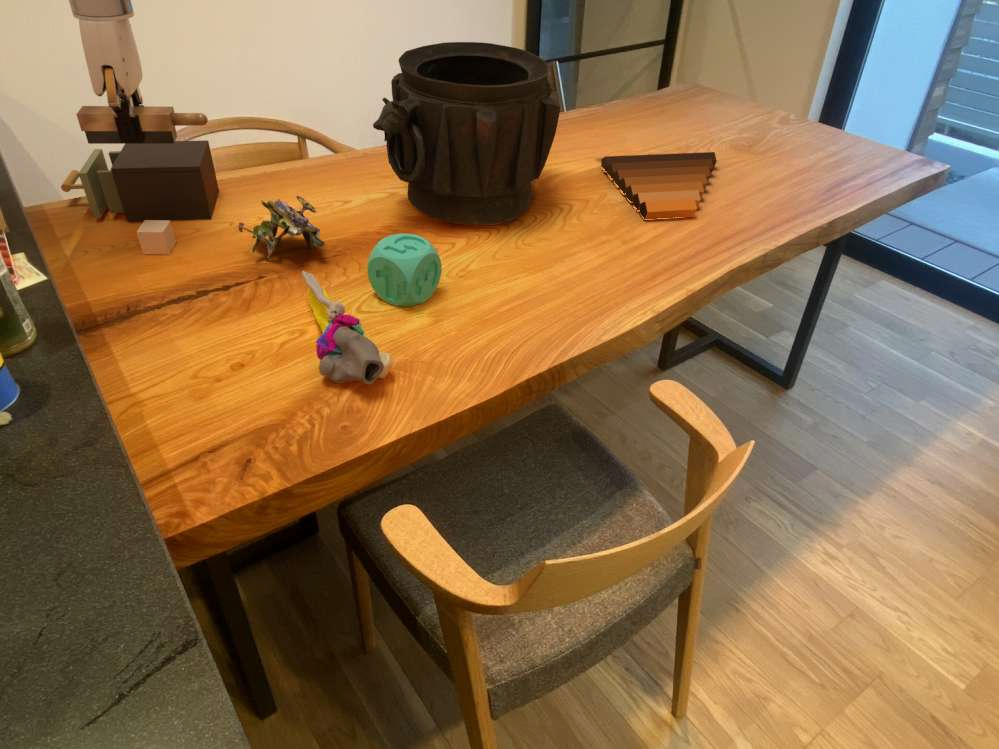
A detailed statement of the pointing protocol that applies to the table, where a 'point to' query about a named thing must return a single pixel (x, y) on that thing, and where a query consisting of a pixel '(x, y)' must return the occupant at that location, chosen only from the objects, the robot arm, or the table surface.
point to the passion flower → (285, 225)
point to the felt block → (156, 237)
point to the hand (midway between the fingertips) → (135, 136)
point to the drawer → (97, 183)
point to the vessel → (469, 129)
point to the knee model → (343, 341)
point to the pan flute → (662, 181)
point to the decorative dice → (404, 269)
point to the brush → (152, 120)
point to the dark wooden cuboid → (166, 181)
